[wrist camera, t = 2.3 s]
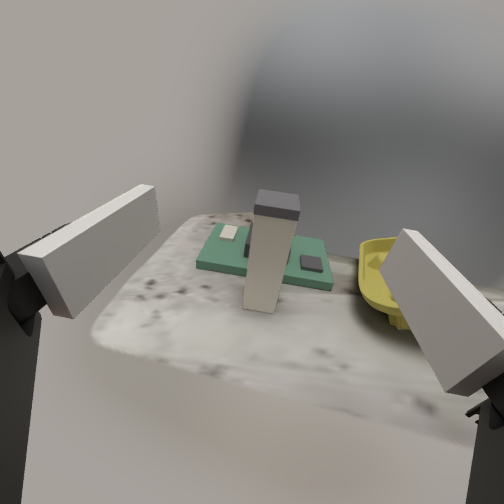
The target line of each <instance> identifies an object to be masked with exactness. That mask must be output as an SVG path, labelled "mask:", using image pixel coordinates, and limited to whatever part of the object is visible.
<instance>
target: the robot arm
mask: <svg viewBox="0 0 504 504" xmlns="http://www.w3.org/2000/svg"><path fill="white" fill-rule="evenodd" d="M159 232H160V223H159V216H158V208H157V200H156V192H155V187H154V186H149V185H143V184H140V185H138V186H137V187H135V188H133V189H131V190H130V191H128V192H126V193H125V194H122V195H121V196H119V197H117V198H115V199H113V200H112V201H110V202H108V203H106V204H104V205H103V206H101V207H99V208H97V209H96V210H94V211H92V212H90V213H88V214H87V215H85V216H83V217H81V218H79V219H78V220H76V221H74V222H72V223H68V224H65V225H63V226H61V227H59V228H58V229H55V230H54V231H52V233H48V234H46V235H44V236H43V237H42V238H39V239H37V240H35V241H33V242H32V243H30V244H28V245H26V246H24V247H22V248H21V249H19V250H17V251H15V252H13V253H12V254H10V255H8V256H6V257H4V256H3V255H2V253H1V252H0V504H21V498H22V489H23V480H24V471H25V462H26V453H27V444H28V435H29V426H30V417H31V409H32V400H33V391H34V381H35V372H36V364H37V355H38V346H39V338H40V329H41V320H42V318H41V314H40V313H39V310H40V309H41V308H42V307H44V306H45V305H46V304H47V305H48V307H49V309H50V310H51V312H52V313H53V315H55V316H60V317H66V318H70V319H74V318H75V317H76V316H77V315H78V314H79V313H80V312H81V311H82V310H83V309H84V308H85V307H86V306H87V305H88V304H89V303H90V302H91V301H92V300H93V299H94V298H95V297H96V296H97V295H98V294H99V293H100V292H101V291H102V290H103V289H104V288H105V287H106V286H107V285H108V284H109V283H110V282H111V281H112V280H113V279H114V278H115V277H116V276H117V275H118V274H119V273H120V272H121V271H122V269H124V267H126V266H127V265H128V264H129V262H131V261H132V260H133V258H135V257H136V255H137V254H138V253H139V252H140V251H141V250H142V249H143V248H144V247H145V246H146V245H147V244H148V243H149V242H150V241H151V240H152V239H153V238H154V237H155V236H156V235H157V234H158V233H159ZM379 272H380V274H381V275H382V277H383V279H384V281H385V283H386V285H387V286H388V288H389V290H390V292H391V294H392V296H393V297H394V299H395V301H396V303H397V305H398V307H399V309H400V310H401V312H402V314H403V316H404V318H405V320H406V321H407V323H408V325H409V327H410V329H411V331H412V332H413V334H414V336H415V338H416V340H417V342H418V343H419V345H420V347H421V349H422V351H423V353H424V354H425V356H426V358H427V360H428V362H429V364H430V365H431V367H432V369H433V371H434V373H435V375H436V376H437V378H438V380H439V382H440V384H441V386H442V387H443V389H444V391H445V392H446V393H452V394H457V395H462V396H467V397H469V396H470V395H472V394H473V393H475V392H476V391H478V390H480V389H481V388H483V390H484V391H485V393H486V394H487V396H488V397H489V398H488V399H487V400H485V401H483V402H482V403H480V404H478V405H477V406H475V407H473V408H472V409H470V410H468V411H467V413H466V414H465V415H466V416H467V417H471V416H473V415H475V414H479V420H477V421H475V423H477V424H478V428H477V434H476V441H475V447H474V453H473V460H472V466H471V473H470V479H469V486H468V492H467V498H466V504H504V314H502V312H501V311H500V310H499V309H498V308H497V307H496V306H495V305H494V304H493V303H492V302H491V301H490V300H488V299H487V298H485V297H484V296H483V295H482V294H481V293H480V292H479V291H478V290H477V289H476V288H475V287H474V286H473V285H472V284H471V283H470V282H469V281H468V280H467V279H466V278H464V276H463V275H462V274H461V273H460V272H459V271H458V270H457V269H455V268H454V267H453V265H451V264H450V263H449V262H448V261H447V260H446V259H445V258H444V257H443V256H442V255H441V254H440V253H439V252H438V251H437V250H436V249H435V248H434V247H433V246H432V245H431V244H430V243H429V242H428V241H427V240H426V239H425V238H424V237H423V236H422V235H421V234H420V233H419V232H418V231H413V230H407V229H402V230H401V232H400V234H399V236H398V237H397V239H396V241H395V242H394V244H393V246H392V248H391V249H390V251H389V253H388V254H387V256H386V258H385V260H384V261H383V263H382V265H381V267H380V268H379Z"/></svg>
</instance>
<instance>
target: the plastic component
mask: <svg viewBox="0 0 504 504" xmlns="http://www.w3.org/2000/svg"><path fill="white" fill-rule="evenodd" d="M396 239H397V237H393V238H382V239H372V240H368V241H365V242H363V243H361V244H360V254H359V274H358V281H359V288H360V291H361V293H362V296H363V297H364V299H365V300H366V301H367V303H368V304H369V305H371V306H372V307H373V308H375V309H377V310H379V311H381V312H384V313H387V314H388V317H389V323H390V324H391V325H394V326H396V327H397V329H398V330H401V329H408V330H410V331H411V329H410V327H409V325H408V323H407V321H406V320H405V318H404V316H403V314H402V312H401V310H400V309H399V307H398V305H397V303H396V301H395V299H394V297H393V296H392V294H391V292H390V290H389V288H388V286H387V285H386V283H385V281H384V279H383V277H382V275H381V274H380V272H379V268H380V267H381V265H382V263H383V261H384V260H385V258H386V256H387V254H388V253H389V251H390V249H391V248H392V246H393V244H394V242H395V241H396Z"/></svg>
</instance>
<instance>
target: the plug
mask: <svg viewBox="0 0 504 504" xmlns="http://www.w3.org/2000/svg"><path fill="white" fill-rule="evenodd" d="M299 215H300V203H299V196H298V195H295V194H289V193H282V192H275V191H269V190H262V189H259V192H258V196H257V199H256V202H255V207H254V219H253V227H252V235H251V243H250V251H249V259H248V267H247V275H246V283H245V291H244V299H243V307H242V308H244V309H249V310H255V311H260V312H266V313H272V314H274V311H275V307H276V303H277V300H278V296H279V292H280V288H281V284H282V280H283V276H284V272H285V268H286V264H287V260H288V256H289V252H290V248H291V244H292V240H293V236H294V232H295V228H296V224H297V221H298V218H299Z"/></svg>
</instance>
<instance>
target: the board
mask: <svg viewBox="0 0 504 504" xmlns="http://www.w3.org/2000/svg"><path fill="white" fill-rule="evenodd" d="M252 227H253V223H251V225H250V228H247V227H241V226H235V225H228V224H222V223H217V224H216V226H215V228H214V230H213V231H212V233H211V235H210V237H209V238H208V240H207V242H206V244H205V245H204V247H203V249H202V251H201V252H200V254H199V256H198V258H197V259H196V268H200V269H205V270H211V271H217V272H223V273H229V274H235V275H240V276H246V275H247V267H248V259H249V251H250V243H251V235H252ZM282 283H287V284H293V285H299V286H304V287H310V288H316V289H322V290H328V291H331V289H332V287H333V284H334V282H333V278H332V274H331V270H330V266H329V262H328V258H327V254H326V250H325V246H324V242H323V240H321V239H315V238H309V237H303V236H296V235H294V236H293V240H292V244H291V248H290V252H289V256H288V260H287V264H286V268H285V272H284V276H283V280H282Z"/></svg>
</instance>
